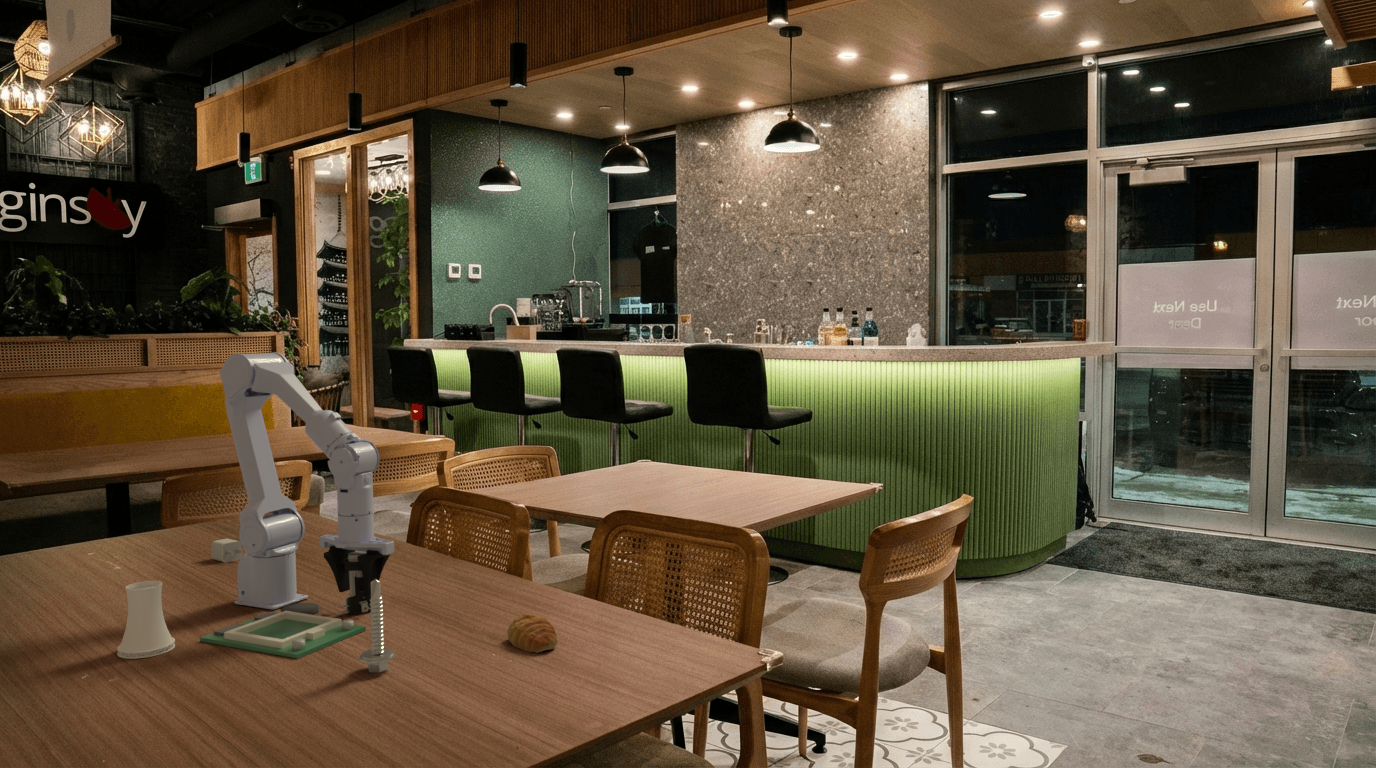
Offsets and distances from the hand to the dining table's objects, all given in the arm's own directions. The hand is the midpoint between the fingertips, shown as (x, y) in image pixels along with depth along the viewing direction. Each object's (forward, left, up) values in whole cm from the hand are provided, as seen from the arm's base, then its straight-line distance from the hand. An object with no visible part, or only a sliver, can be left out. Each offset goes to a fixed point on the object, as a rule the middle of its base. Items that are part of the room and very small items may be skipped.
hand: (357, 592), depth 159 cm
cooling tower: (-16, -27, -4) cm, 32 cm away
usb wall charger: (-51, +18, -4) cm, 54 cm away
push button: (0, 0, -4) cm, 4 cm away
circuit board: (-2, -14, -3) cm, 15 cm away
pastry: (+36, -2, -4) cm, 36 cm away
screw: (+22, -20, -4) cm, 30 cm away
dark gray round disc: (-9, -4, -4) cm, 11 cm away
